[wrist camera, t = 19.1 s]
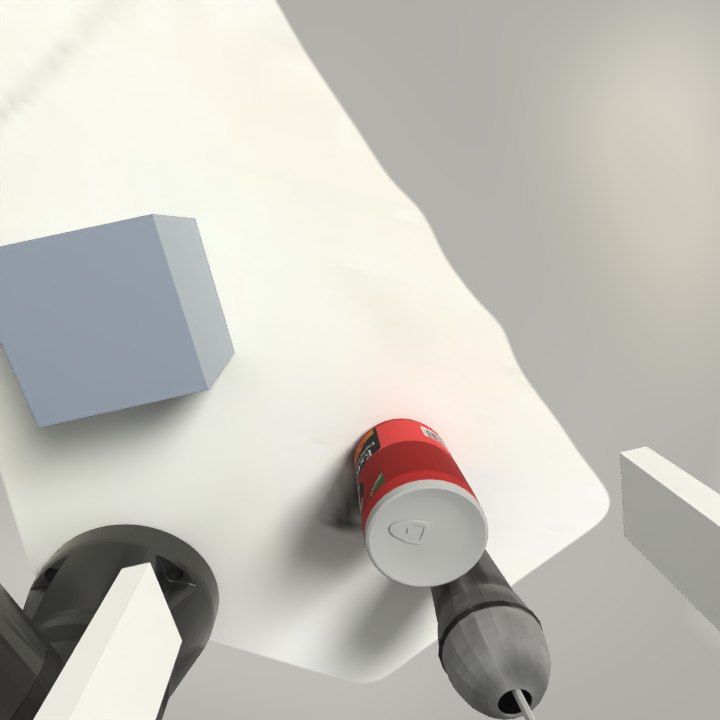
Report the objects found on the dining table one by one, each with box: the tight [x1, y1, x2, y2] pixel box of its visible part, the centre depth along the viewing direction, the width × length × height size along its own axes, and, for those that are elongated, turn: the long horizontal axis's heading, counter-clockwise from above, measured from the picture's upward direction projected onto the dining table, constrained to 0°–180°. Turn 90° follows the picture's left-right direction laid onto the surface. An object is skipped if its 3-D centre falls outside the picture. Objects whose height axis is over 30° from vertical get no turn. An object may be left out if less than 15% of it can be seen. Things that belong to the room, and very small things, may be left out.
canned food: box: [354, 419, 488, 587], centre depth 34 cm, size 8×8×11 cm
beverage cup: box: [431, 550, 551, 720], centre depth 33 cm, size 7×7×20 cm
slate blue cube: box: [0, 214, 235, 428], centre depth 30 cm, size 10×10×9 cm
